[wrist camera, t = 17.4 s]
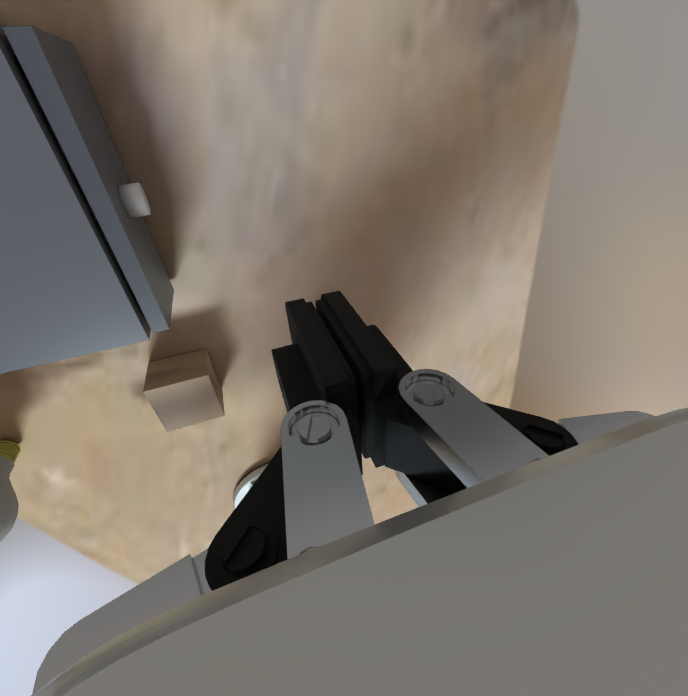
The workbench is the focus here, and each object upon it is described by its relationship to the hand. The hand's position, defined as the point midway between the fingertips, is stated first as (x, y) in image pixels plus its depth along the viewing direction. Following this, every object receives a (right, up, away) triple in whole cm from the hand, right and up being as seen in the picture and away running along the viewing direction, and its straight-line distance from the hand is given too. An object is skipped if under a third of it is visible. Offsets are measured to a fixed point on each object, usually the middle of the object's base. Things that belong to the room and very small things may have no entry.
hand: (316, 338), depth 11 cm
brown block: (-14, -3, +22) cm, 26 cm away
